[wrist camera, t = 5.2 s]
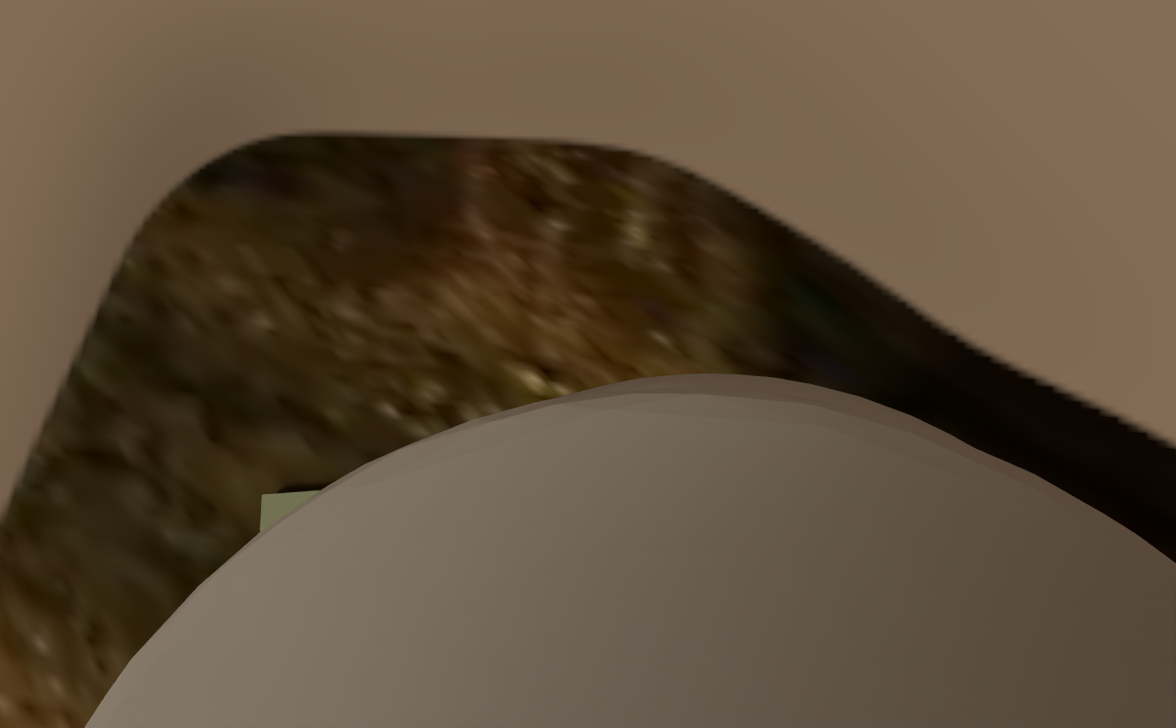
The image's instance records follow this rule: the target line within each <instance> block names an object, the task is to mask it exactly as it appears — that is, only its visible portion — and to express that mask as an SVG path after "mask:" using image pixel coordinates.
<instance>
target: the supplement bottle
mask: <svg viewBox="0 0 1176 728" xmlns="http://www.w3.org/2000/svg"><path fill="white" fill-rule="evenodd" d="M85 728H1176V563H1174V562H1173V561H1172V560H1170V559H1169V558H1168V557H1166V556H1165V555H1164V554H1162V553H1161V552H1160V551H1158V550H1157V549H1156V548H1154V547H1153V546H1152V545H1150V544H1149V543H1147V542H1146V541H1145V540H1143V539H1142V538H1141V537H1139V536H1138V535H1137V534H1135V533H1134V532H1132V531H1130V530H1129V529H1127V528H1126V527H1124V526H1122V525H1121V524H1119V523H1118V522H1116V521H1114V520H1113V519H1111V518H1110V517H1108V516H1106V515H1105V514H1103V513H1101V512H1100V511H1098V510H1096V509H1094V508H1093V507H1091V506H1089V505H1087V504H1086V503H1084V502H1082V501H1080V500H1079V499H1077V498H1075V497H1073V496H1072V495H1070V494H1068V493H1066V492H1065V491H1063V490H1061V489H1059V488H1058V487H1056V486H1054V485H1052V484H1051V483H1049V482H1047V481H1045V480H1044V479H1042V478H1040V477H1038V476H1037V475H1035V474H1033V473H1031V472H1028V471H1026V470H1024V469H1021V468H1019V467H1017V466H1014V465H1012V464H1010V463H1008V462H1005V461H1003V460H1001V459H998V458H996V457H994V456H992V455H989V454H987V453H985V452H982V451H980V450H978V449H975V448H973V447H972V446H970V445H968V444H966V443H964V442H963V441H961V440H959V439H957V438H955V437H954V436H952V435H950V434H948V433H946V432H944V431H942V430H940V429H938V428H936V427H934V426H932V425H930V424H927V423H925V422H923V421H921V420H919V419H917V418H915V417H913V416H911V415H908V414H905V413H903V412H900V411H897V410H895V409H892V408H889V407H886V406H884V405H881V404H878V403H875V402H873V401H870V400H867V399H864V398H862V397H859V396H855V395H851V394H847V393H843V392H840V391H836V390H832V389H828V388H824V387H820V386H816V385H812V384H806V383H800V382H795V381H789V380H784V379H778V378H771V377H760V376H748V375H736V374H686V375H669V376H659V377H649V378H640V379H634V380H629V381H624V382H619V383H614V384H609V385H604V386H600V387H596V388H592V389H589V390H585V391H581V392H577V393H573V394H569V395H566V396H562V397H558V398H555V399H551V400H545V401H539V402H536V403H532V404H528V405H525V406H521V407H518V408H514V409H510V410H507V411H503V412H500V413H496V414H492V415H489V416H485V417H481V418H478V419H474V420H471V421H469V422H466V423H464V424H461V425H458V426H456V427H453V428H451V429H448V430H445V431H443V432H440V433H438V434H435V435H432V436H430V437H427V438H425V439H422V440H419V441H417V442H414V443H412V444H409V445H407V446H405V447H402V448H400V449H398V450H396V451H394V452H391V453H389V454H387V455H385V456H382V457H380V458H378V459H376V460H374V461H371V462H369V463H367V464H365V465H363V466H361V467H359V468H358V469H356V470H354V471H352V472H351V473H349V474H347V475H346V476H344V477H342V478H340V479H339V480H337V481H335V482H333V483H332V484H330V485H328V486H327V487H325V488H324V489H322V490H321V491H319V492H318V493H316V494H315V495H313V496H312V497H310V498H309V499H307V500H306V501H304V502H303V503H301V504H300V505H299V506H297V507H296V508H294V509H293V510H291V511H290V512H289V513H287V514H286V515H284V516H283V517H281V518H280V519H278V520H277V521H276V522H274V523H273V524H271V525H270V526H268V527H267V528H266V529H264V530H263V531H261V532H260V533H259V534H258V535H257V536H255V537H254V538H253V539H252V540H251V541H250V542H249V543H247V544H246V545H245V546H244V547H243V548H242V549H241V550H239V551H238V552H237V553H236V554H235V555H234V556H233V557H231V558H230V559H229V560H228V561H227V562H226V563H224V564H223V565H222V566H221V567H220V568H219V569H218V570H216V571H215V572H214V573H213V574H212V575H211V576H210V577H208V578H207V579H206V580H205V581H204V582H203V583H202V584H200V585H199V586H198V587H197V589H196V590H195V591H194V592H193V593H192V594H191V595H190V596H189V597H188V598H187V599H186V600H185V602H184V603H183V604H182V605H181V606H180V607H179V608H178V609H177V610H176V611H175V612H174V613H173V615H172V616H171V617H170V618H169V619H168V620H167V621H166V622H165V623H164V624H163V625H162V626H161V628H160V629H159V630H158V631H157V632H156V633H155V634H154V635H153V636H152V637H151V638H150V640H149V641H148V642H147V643H146V644H145V645H144V646H143V647H142V648H141V649H140V650H139V651H138V653H137V654H136V655H135V656H134V657H133V658H132V659H131V660H130V662H129V663H128V665H127V666H126V667H125V669H124V670H123V672H122V673H121V674H120V676H119V677H118V679H117V680H116V681H115V683H114V684H113V686H112V687H111V688H110V690H109V691H108V693H107V694H106V696H105V697H104V699H103V700H102V702H101V703H100V705H99V706H98V708H97V709H96V711H95V712H94V714H93V715H92V717H91V719H90V720H89V722H88V723H87V725H86V726H85Z"/></svg>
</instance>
